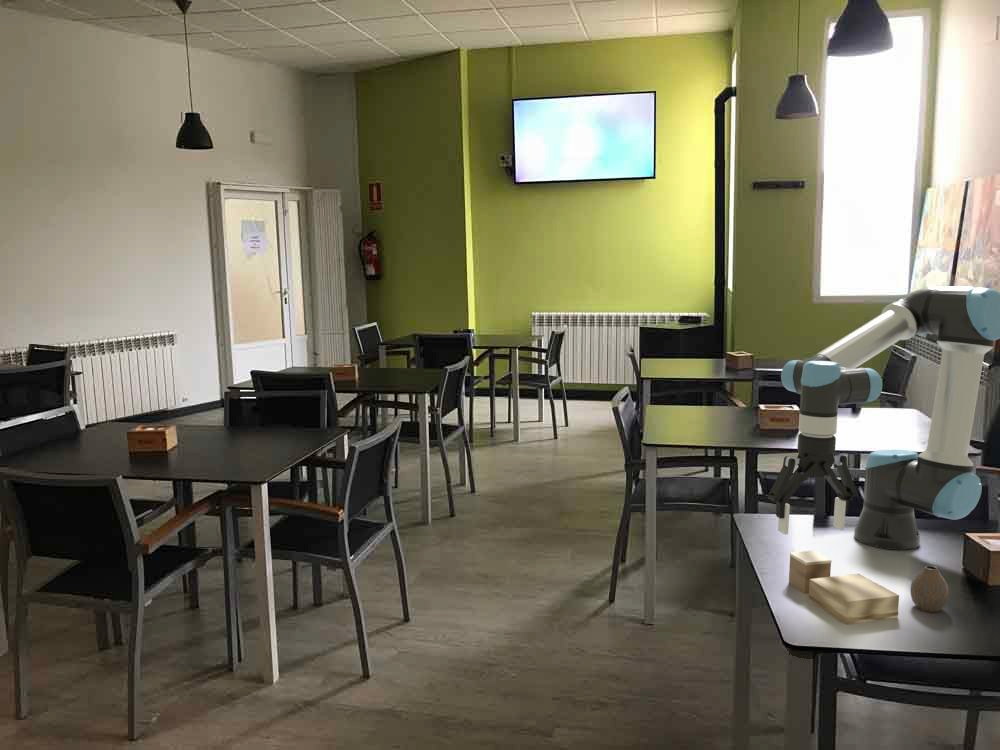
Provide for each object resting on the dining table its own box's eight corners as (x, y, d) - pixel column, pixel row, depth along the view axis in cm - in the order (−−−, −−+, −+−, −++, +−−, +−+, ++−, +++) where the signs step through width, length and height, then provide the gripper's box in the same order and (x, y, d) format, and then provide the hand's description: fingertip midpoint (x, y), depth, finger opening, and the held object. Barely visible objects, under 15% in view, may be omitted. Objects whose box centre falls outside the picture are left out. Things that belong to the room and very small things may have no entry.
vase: (927, 617, 167) (930, 575, 166) (901, 603, 173) (904, 563, 172) (955, 613, 169) (958, 571, 168) (928, 599, 175) (931, 559, 174)
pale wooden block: (812, 580, 186) (814, 550, 185) (829, 591, 180) (831, 560, 179) (788, 583, 184) (789, 552, 183) (804, 594, 178) (806, 562, 177)
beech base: (857, 595, 178) (859, 573, 178) (897, 619, 167) (899, 595, 166) (808, 601, 175) (809, 578, 175) (845, 626, 164) (847, 601, 163)
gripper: (856, 428, 184) (850, 521, 187) (754, 432, 178) (749, 528, 181) (879, 435, 176) (872, 531, 179) (774, 440, 171) (768, 540, 174)
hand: (811, 530), depth 180 cm, fingers open, 13 cm apart
